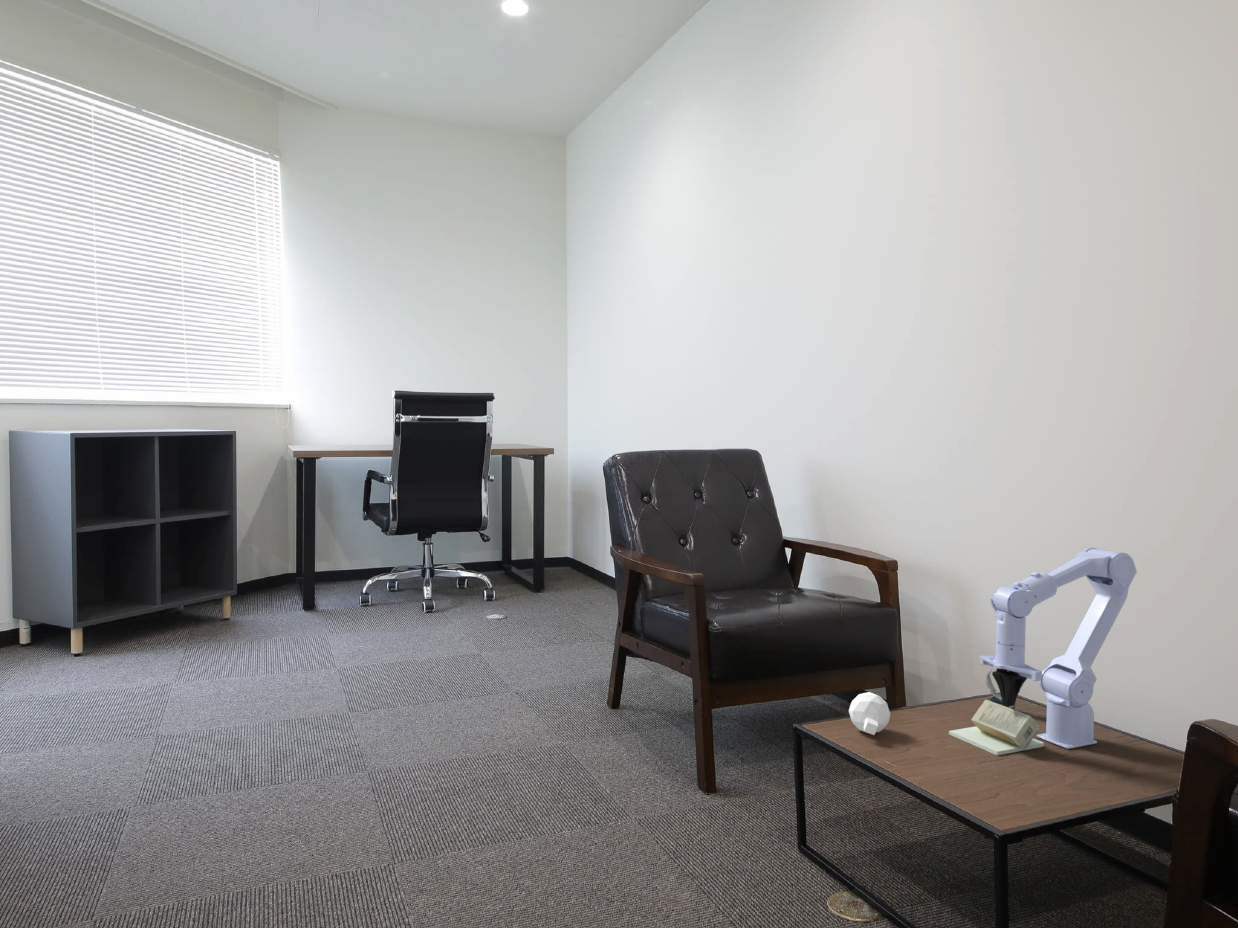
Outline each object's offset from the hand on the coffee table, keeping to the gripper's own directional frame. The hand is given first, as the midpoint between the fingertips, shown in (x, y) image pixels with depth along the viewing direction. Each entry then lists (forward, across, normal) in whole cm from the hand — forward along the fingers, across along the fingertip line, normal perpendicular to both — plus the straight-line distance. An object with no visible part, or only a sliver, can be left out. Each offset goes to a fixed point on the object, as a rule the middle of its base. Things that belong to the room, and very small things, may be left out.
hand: (1008, 704), depth 176 cm
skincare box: (+5, +5, 0) cm, 7 cm away
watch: (+9, -17, +18) cm, 27 cm away
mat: (+9, -3, 0) cm, 9 cm away
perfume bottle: (+9, -17, -24) cm, 31 cm away
